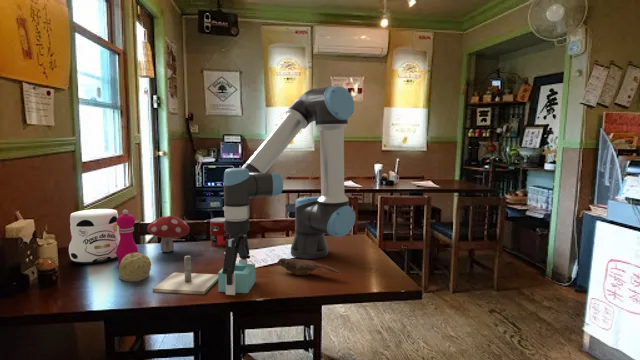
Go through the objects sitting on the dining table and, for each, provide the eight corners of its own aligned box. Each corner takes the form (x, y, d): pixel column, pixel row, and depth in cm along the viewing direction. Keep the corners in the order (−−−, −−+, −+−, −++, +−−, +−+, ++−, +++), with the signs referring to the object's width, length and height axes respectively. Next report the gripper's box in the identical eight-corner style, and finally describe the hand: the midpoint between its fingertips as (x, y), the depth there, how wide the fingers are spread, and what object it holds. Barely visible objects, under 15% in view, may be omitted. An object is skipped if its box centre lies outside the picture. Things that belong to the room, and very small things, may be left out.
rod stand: (220, 277, 131) (220, 251, 130) (204, 294, 117) (203, 265, 116) (174, 275, 132) (173, 249, 131) (152, 291, 119) (151, 262, 118)
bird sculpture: (338, 283, 127) (339, 268, 127) (268, 274, 135) (268, 259, 135) (344, 276, 133) (344, 262, 133) (276, 268, 141) (276, 254, 141)
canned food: (209, 242, 173) (209, 218, 172) (227, 241, 176) (227, 217, 175) (212, 247, 166) (211, 221, 165) (231, 245, 169) (230, 220, 168)
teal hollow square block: (255, 282, 127) (255, 264, 127) (247, 293, 118) (247, 273, 118) (228, 280, 128) (227, 263, 128) (218, 291, 119) (218, 272, 119)
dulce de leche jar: (100, 269, 138) (98, 218, 136) (57, 265, 141) (54, 216, 139) (132, 254, 155) (130, 209, 153) (93, 251, 158) (91, 207, 156)
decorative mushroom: (193, 246, 167) (192, 211, 166) (186, 257, 152) (185, 219, 150) (154, 247, 165) (153, 211, 164) (142, 258, 150) (141, 219, 148)
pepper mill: (142, 261, 147) (140, 208, 144) (131, 267, 140) (129, 212, 137) (124, 260, 147) (121, 207, 145) (112, 266, 140) (109, 211, 138)
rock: (148, 281, 137) (139, 254, 139) (159, 272, 129) (149, 244, 131) (119, 291, 130) (110, 262, 132) (129, 282, 122) (119, 252, 124)
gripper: (236, 210, 133) (237, 272, 136) (210, 227, 109) (211, 301, 112) (258, 211, 133) (258, 273, 135) (236, 228, 108) (237, 303, 111)
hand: (237, 286), depth 123 cm, fingers open, 12 cm apart
